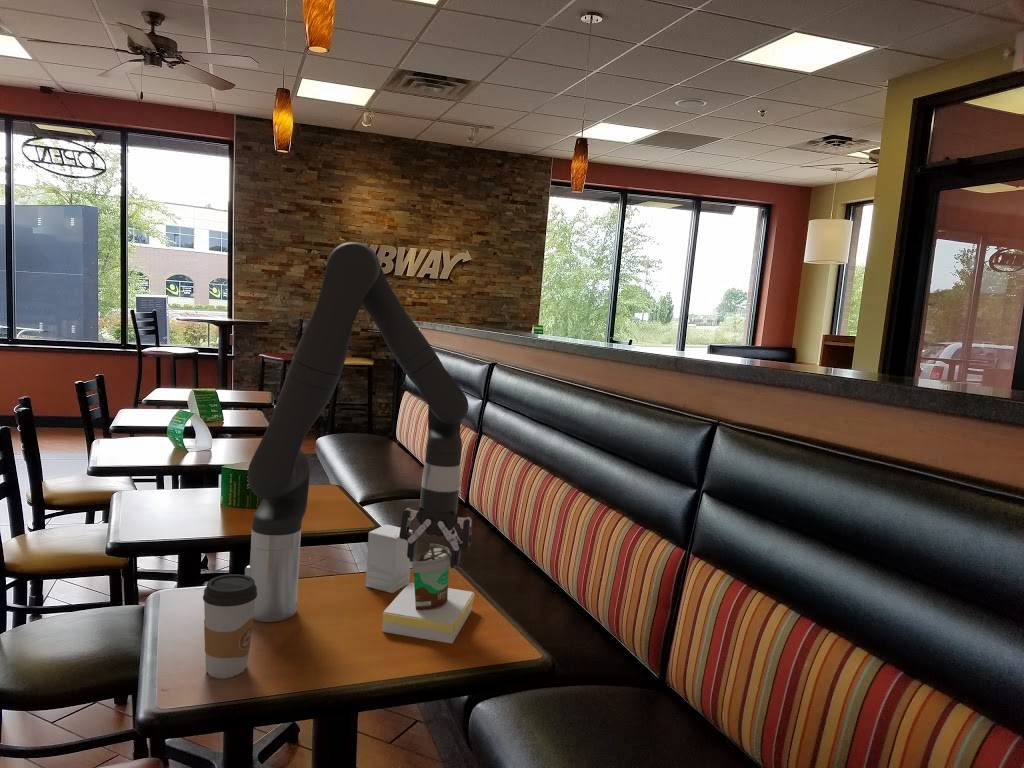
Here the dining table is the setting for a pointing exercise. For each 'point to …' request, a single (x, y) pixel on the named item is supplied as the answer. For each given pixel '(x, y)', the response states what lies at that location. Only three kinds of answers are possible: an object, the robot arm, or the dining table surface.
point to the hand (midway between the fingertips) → (432, 563)
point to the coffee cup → (228, 623)
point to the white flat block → (428, 616)
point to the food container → (432, 577)
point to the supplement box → (387, 559)
